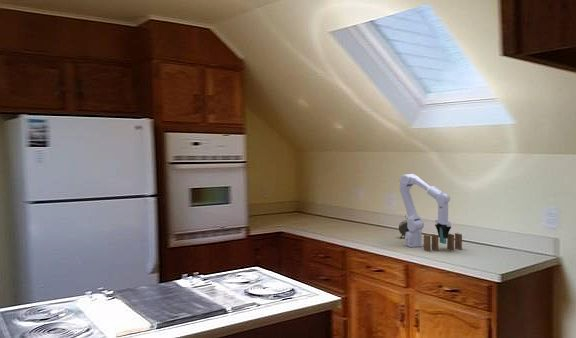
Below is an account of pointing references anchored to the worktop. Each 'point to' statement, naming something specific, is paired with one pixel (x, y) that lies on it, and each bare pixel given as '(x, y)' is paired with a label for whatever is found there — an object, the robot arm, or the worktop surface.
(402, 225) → the alarm clock
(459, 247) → the domino
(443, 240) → the teal domino
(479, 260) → the worktop surface
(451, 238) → the domino
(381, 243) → the worktop surface
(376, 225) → the worktop surface
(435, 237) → the domino
